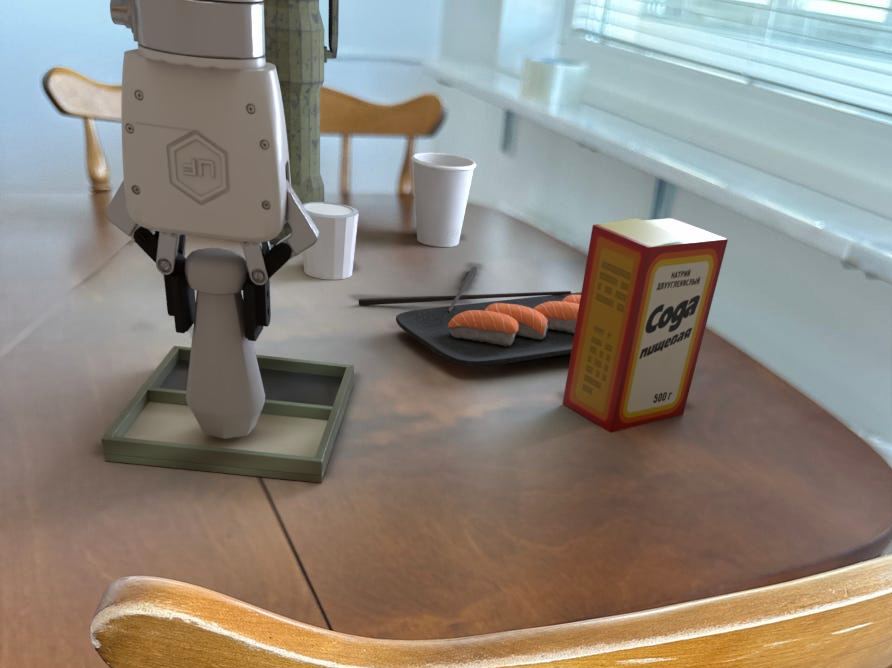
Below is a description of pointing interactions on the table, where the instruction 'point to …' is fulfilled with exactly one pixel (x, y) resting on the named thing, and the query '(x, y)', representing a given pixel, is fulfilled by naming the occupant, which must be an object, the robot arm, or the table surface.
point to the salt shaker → (221, 347)
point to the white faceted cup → (331, 241)
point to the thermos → (301, 85)
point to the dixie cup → (441, 196)
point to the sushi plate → (492, 325)
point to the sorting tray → (258, 454)
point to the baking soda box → (641, 320)
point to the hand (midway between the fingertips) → (220, 328)
